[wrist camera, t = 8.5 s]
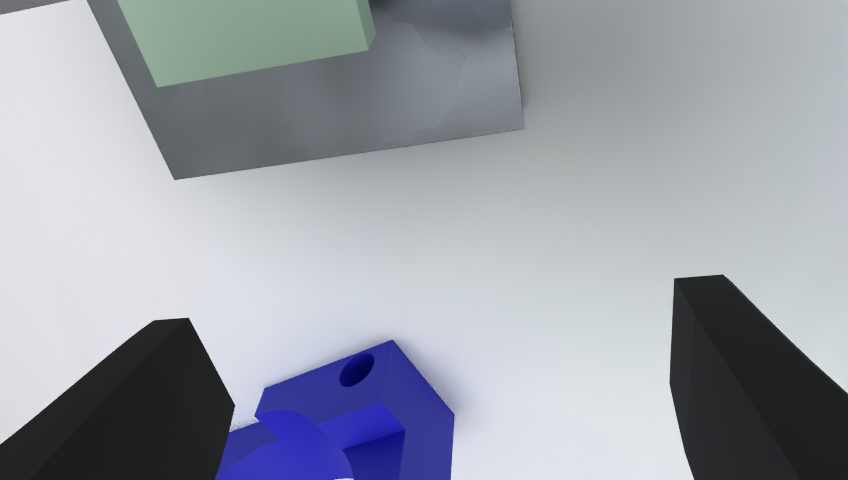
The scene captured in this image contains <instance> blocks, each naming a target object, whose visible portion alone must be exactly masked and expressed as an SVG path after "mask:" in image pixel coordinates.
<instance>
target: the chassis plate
mask: <svg viewBox="0 0 848 480" xmlns="http://www.w3.org/2000/svg"><path fill="white" fill-rule="evenodd" d="M87 2H88V4H89V6H90V8H91V10H92V12H93V14H94V16H95V18H96V20H97V22H98V24H99V26H100V28H101V31H102V33H103V35H104V37H105V39H106V41H107V43H108V45H109V47H110V49H111V51H112V53H113V55H114V57H115V59H116V61H117V63H118V65H119V67H120V69H121V72H122V74H123V76H124V78H125V80H126V82H127V84H128V86H129V88H130V90H131V92H132V94H133V96H134V98H135V100H136V102H137V104H138V106H139V108H140V110H141V112H142V115H143V117H144V119H145V121H146V123H147V125H148V127H149V129H150V131H151V133H152V135H153V137H154V139H155V141H156V143H157V145H158V147H159V149H160V151H161V153H162V155H163V158H164V160H165V162H166V164H167V166H168V168H169V170H170V172H171V174H172V176H173V178H174V180H178V179H185V178H192V177H199V176H206V175H213V174H220V173H226V172H233V171H240V170H247V169H254V168H261V167H268V166H275V165H282V164H288V163H295V162H302V161H309V160H316V159H323V158H330V157H337V156H343V155H350V154H357V153H364V152H371V151H378V150H385V149H392V148H399V147H405V146H412V145H419V144H426V143H433V142H440V141H447V140H454V139H460V138H467V137H474V136H481V135H488V134H495V133H502V132H509V131H516V130H522V129H524V118H523V109H522V101H521V93H520V84H519V76H518V68H517V60H516V52H515V44H514V35H513V27H512V19H511V11H510V3H509V0H368V3H369V7H370V11H371V15H372V19H373V23H374V27H375V31H376V36H375V38H374V40H373V42H372V44H371V46H370V48H369V50H367V51H361V52H356V53H350V54H344V55H339V56H333V57H327V58H322V59H316V60H310V61H304V62H299V63H293V64H287V65H282V66H276V67H270V68H265V69H259V70H253V71H248V72H242V73H236V74H231V75H225V76H219V77H214V78H208V79H202V80H197V81H191V82H185V83H179V84H174V85H168V86H162V87H157V86H156V84H155V81H154V79H153V77H152V75H151V73H150V71H149V68H148V66H147V64H146V62H145V60H144V58H143V55H142V53H141V51H140V49H139V47H138V45H137V42H136V40H135V38H134V36H133V34H132V31H131V29H130V27H129V25H128V23H127V21H126V18H125V16H124V14H123V12H122V10H121V8H120V5H119V3H118V1H117V0H87Z"/></svg>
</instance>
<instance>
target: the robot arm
mask: <svg viewBox="0 0 848 480" xmlns="http://www.w3.org/2000/svg"><path fill="white" fill-rule="evenodd" d="M670 388H671V392H672V397H673V402H674V406H675V411H676V416H677V420H678V424H679V429H680V433H681V437H682V442H683V446H684V450H685V454H686V457H687V460H688V463H689V466H690V469H691V472H692V475H693V477H694V480H848V393H846V392H845V391H844V390H843V389H842V388H841V387H840V386H839V385H838V384H837V383H835V382H834V381H833V380H832V379H831V378H830V377H829V376H828V375H827V374H825V373H824V372H823V371H822V370H821V369H820V368H819V367H818V366H817V365H815V364H814V363H813V362H812V361H811V360H810V359H809V358H808V357H807V356H806V355H805V354H804V353H803V352H802V351H801V350H800V349H798V348H797V347H796V346H795V345H794V344H793V343H792V342H791V341H790V340H789V339H788V338H787V337H786V336H785V335H784V334H783V333H782V332H781V331H780V330H779V329H778V328H777V327H776V326H775V325H774V324H773V323H772V322H771V321H770V320H769V319H768V318H767V317H766V316H765V315H764V314H763V313H762V312H761V311H760V310H759V309H758V308H757V307H756V306H755V305H754V304H753V303H752V302H751V301H750V300H749V299H748V298H747V297H746V296H745V295H744V294H743V293H742V292H741V291H740V290H739V289H738V288H737V287H736V286H735V285H734V284H733V283H732V282H731V281H730V280H729V279H728V278H726V277H725V276H724V275H711V276H699V277H687V278H674V297H673V318H672V340H671V361H670ZM234 408H235V404H234V402H233V401H232V399H231V397H230V395H229V393H228V391H227V389H226V387H225V385H224V384H223V382H222V380H221V378H220V376H219V374H218V372H217V370H216V368H215V367H214V365H213V363H212V361H211V359H210V357H209V355H208V353H207V351H206V350H205V348H204V346H203V344H202V342H201V340H200V338H199V336H198V334H197V333H196V331H195V329H194V327H193V325H192V323H191V321H190V319H189V318H179V319H166V320H154V321H152V322H151V323H150V324H148V325H147V326H145V327H144V328H143V329H141V330H140V331H139V332H137V333H136V334H135V335H133V336H132V337H131V338H129V339H128V340H127V341H126V342H124V343H123V344H122V345H121V346H119V347H118V348H117V349H116V350H115V351H113V352H112V353H111V354H110V355H108V356H107V357H106V358H105V359H104V360H102V361H101V362H100V363H99V364H98V365H96V366H95V367H94V368H93V369H92V370H90V371H89V372H88V373H87V374H86V375H84V376H83V377H82V378H81V379H80V380H78V381H77V382H76V383H75V384H74V385H72V386H71V387H70V388H69V389H68V390H66V391H65V392H64V393H63V394H62V395H60V396H59V397H58V398H57V399H56V400H54V401H53V402H52V403H51V404H50V405H48V406H47V407H46V408H45V409H44V410H42V411H41V412H40V413H39V414H38V415H36V416H35V417H34V418H33V419H32V420H30V421H29V422H28V423H27V424H26V425H24V426H23V427H22V428H21V429H19V430H18V431H17V432H16V433H14V434H13V435H12V436H11V437H9V438H8V439H7V440H5V441H4V442H3V443H2V444H0V480H215V477H216V475H217V472H218V470H219V467H220V463H221V460H222V456H223V452H224V449H225V445H226V442H227V438H228V433H229V429H230V425H231V421H232V416H233V412H234Z"/></svg>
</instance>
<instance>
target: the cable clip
mask: <svg viewBox="0 0 848 480" xmlns="http://www.w3.org/2000/svg"><path fill="white" fill-rule="evenodd" d="M254 416H255V417H256V418H257V419H258V420H259V421H260V422H257V423H255V424H252V425H249V426H246V427H243V428H241V429H238V430H235V431H232V432H229V433H228V438H227V442H226V445H225V449H224V452H223V456H222V460H221V463H220V467H219V470H218V472H217V475H216V477H215V480H335V479H344V478H351V479H354V480H451V464H452V447H453V431H454V414H453V412H452V411H451V410H450V409H449V408H448V406H447V405H446V404H445V403H444V401H443V400H442V399H441V398H440V397H439V395H438V394H437V393H436V392H435V391H434V389H433V388H432V387H431V386H430V385H429V383H428V382H427V381H426V380H425V378H424V377H423V376H422V375H421V374H420V372H419V371H418V370H417V369H416V368H415V366H414V365H413V364H412V363H411V362H410V360H409V359H408V358H407V357H406V355H405V354H404V353H403V352H402V351H401V349H400V348H399V347H398V346H397V345H396V343H395V342H394V341H393V340H390V341H388V342H385V343H383V344H380V345H377V346H375V347H372V348H370V349H367V350H364V351H362V352H359V353H356V354H354V355H351V356H349V357H346V358H343V359H341V360H338V361H335V362H333V363H330V364H328V365H325V366H322V367H320V368H317V369H315V370H312V371H309V372H307V373H304V374H301V375H299V376H296V377H294V378H291V379H288V380H286V381H283V382H281V383H278V384H275V385H273V386H270V387H267V388H265V389H264V392H263V394H262V397H261V400H260V402H259V405H258V407H257V410H256V413H255V415H254Z"/></svg>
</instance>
